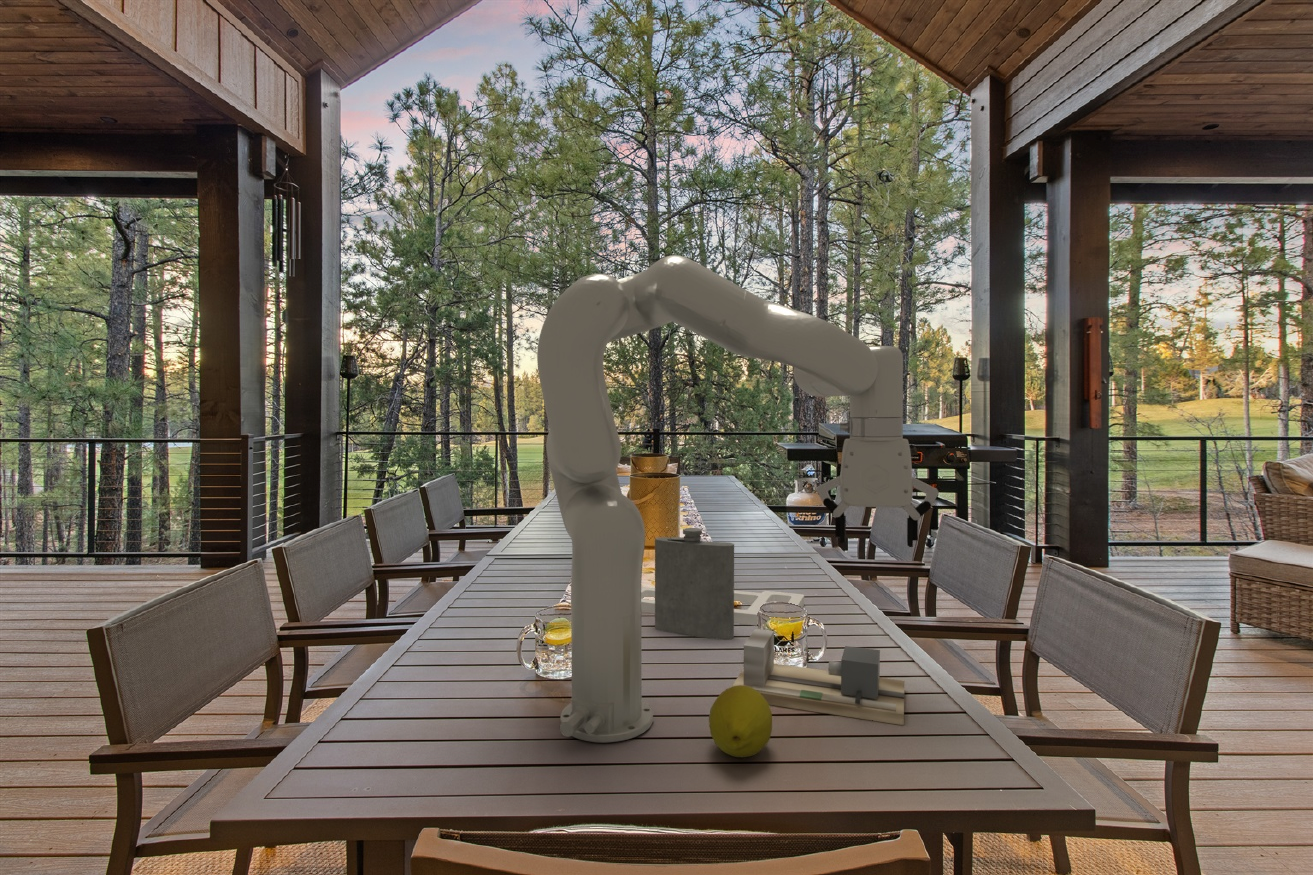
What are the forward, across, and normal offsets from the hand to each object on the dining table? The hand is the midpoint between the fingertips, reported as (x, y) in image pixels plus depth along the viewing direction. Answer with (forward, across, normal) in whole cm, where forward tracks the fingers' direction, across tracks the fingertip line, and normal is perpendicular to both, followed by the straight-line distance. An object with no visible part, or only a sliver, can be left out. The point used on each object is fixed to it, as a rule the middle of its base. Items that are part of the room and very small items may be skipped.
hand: (875, 543), depth 102 cm
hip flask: (+22, -33, +16) cm, 43 cm away
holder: (+23, -38, +34) cm, 56 cm away
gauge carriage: (+21, -3, -6) cm, 22 cm away
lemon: (+22, -16, -25) cm, 37 cm away
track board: (+22, -8, -4) cm, 24 cm away
